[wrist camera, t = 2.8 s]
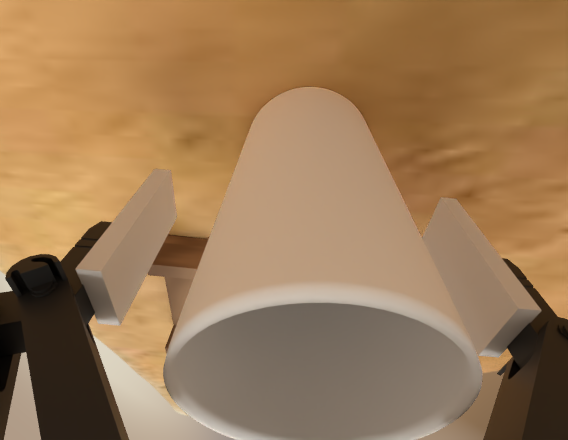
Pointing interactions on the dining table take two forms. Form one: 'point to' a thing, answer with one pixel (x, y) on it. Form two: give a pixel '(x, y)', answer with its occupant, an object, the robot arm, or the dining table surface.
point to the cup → (318, 294)
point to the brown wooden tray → (178, 270)
